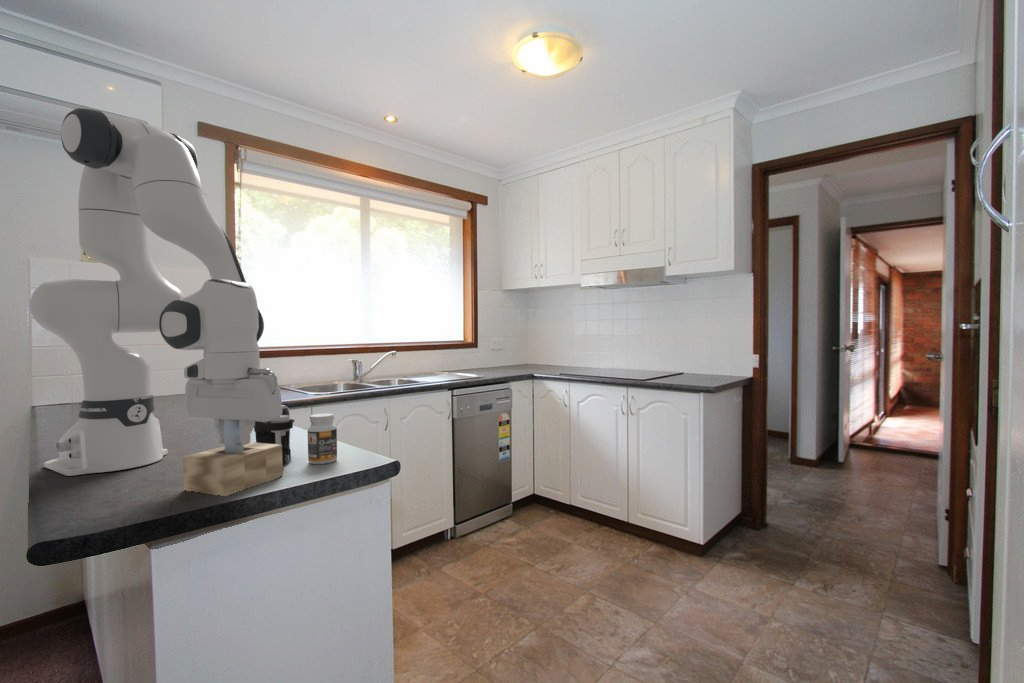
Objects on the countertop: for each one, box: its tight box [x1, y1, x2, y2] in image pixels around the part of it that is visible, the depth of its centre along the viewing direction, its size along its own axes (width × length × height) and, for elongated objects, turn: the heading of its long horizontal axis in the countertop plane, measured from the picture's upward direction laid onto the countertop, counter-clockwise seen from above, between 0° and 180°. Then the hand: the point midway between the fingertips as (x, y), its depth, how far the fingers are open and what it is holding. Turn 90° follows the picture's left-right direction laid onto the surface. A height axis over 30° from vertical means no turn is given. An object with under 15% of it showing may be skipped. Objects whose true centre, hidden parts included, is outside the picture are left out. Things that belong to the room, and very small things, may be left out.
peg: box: [224, 419, 244, 454], centre depth 87 cm, size 3×3×10 cm
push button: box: [266, 415, 295, 466], centre depth 100 cm, size 7×5×10 cm
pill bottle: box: [307, 412, 338, 465], centre depth 102 cm, size 6×6×10 cm
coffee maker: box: [253, 404, 291, 449], centre depth 105 cm, size 7×4×11 cm, turn 107°
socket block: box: [182, 441, 284, 497], centre depth 88 cm, size 10×12×6 cm
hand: (234, 443), depth 88 cm, fingers closed on peg, 3 cm apart
